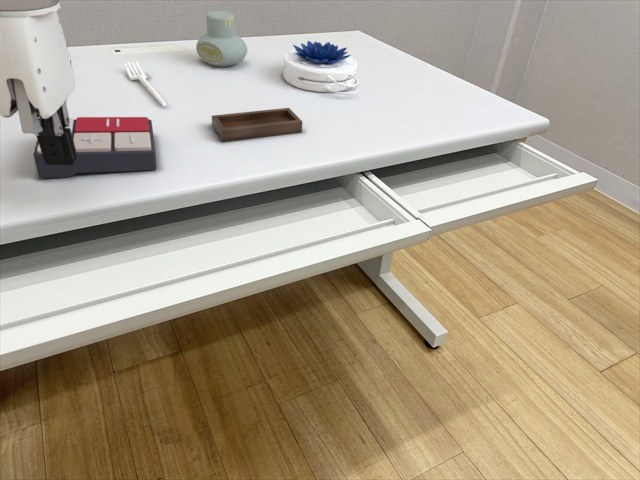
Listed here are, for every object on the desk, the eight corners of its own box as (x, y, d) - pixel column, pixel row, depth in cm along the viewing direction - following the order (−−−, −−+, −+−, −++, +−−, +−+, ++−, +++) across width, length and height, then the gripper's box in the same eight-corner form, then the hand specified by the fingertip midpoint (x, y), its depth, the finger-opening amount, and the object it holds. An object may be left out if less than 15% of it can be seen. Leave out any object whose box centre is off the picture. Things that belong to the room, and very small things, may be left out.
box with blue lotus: (271, 37, 100) (320, 69, 87) (333, 33, 107) (386, 61, 94) (270, 70, 104) (316, 105, 91) (330, 64, 111) (381, 95, 98)
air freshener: (190, 61, 104) (186, 12, 98) (215, 52, 110) (213, 6, 104) (230, 73, 100) (229, 23, 94) (253, 64, 106) (253, 16, 100)
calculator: (155, 147, 65) (31, 149, 60) (157, 174, 68) (38, 178, 63) (151, 114, 73) (41, 114, 68) (153, 139, 76) (47, 141, 71)
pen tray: (222, 142, 76) (221, 130, 75) (212, 126, 80) (211, 115, 79) (301, 132, 81) (302, 121, 80) (288, 118, 85) (289, 107, 84)
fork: (156, 109, 83) (154, 99, 82) (123, 71, 96) (122, 62, 95) (174, 106, 85) (173, 96, 84) (140, 70, 97) (138, 60, 96)
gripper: (4, -26, 50) (50, 132, 62) (-74, 7, 39) (1, 195, 50) (78, -21, 51) (110, 134, 63) (24, 13, 40) (75, 196, 51)
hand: (62, 161), depth 56 cm, fingers closed
